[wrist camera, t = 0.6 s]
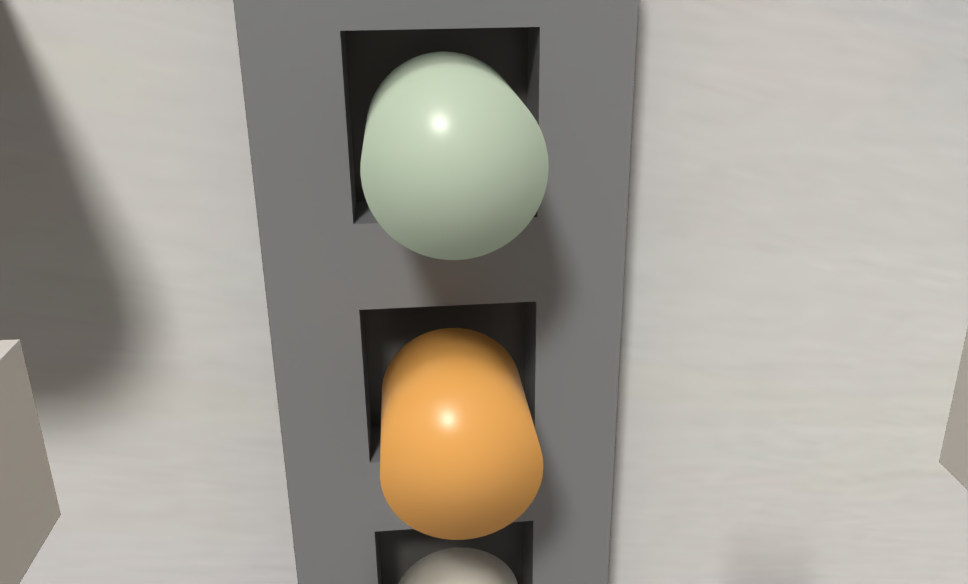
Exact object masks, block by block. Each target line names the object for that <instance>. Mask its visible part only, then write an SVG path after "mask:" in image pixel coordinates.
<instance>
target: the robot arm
mask: <svg viewBox="0 0 968 584" xmlns="http://www.w3.org/2000/svg"><path fill="white" fill-rule="evenodd" d="M939 463H940V464H941V465H943V466H944V467H945V468H946V469H947V470H948V471H949V472H950V473H951V474H952V475H953V476H954V477H955V478H956V479H957V480H958V481H959V482H960V483H961V484H962V485H963V486H964V487H965V488H966V489H967V490H968V328H967V332H966V337H965V342H964V346H963V351H962V356H961V361H960V365H959V370H958V375H957V379H956V384H955V389H954V394H953V398H952V403H951V408H950V413H949V417H948V422H947V427H946V431H945V436H944V441H943V446H942V450H941V455H940V460H939ZM60 515H61V513H60V509H59V505H58V500H57V496H56V492H55V488H54V483H53V479H52V475H51V470H50V466H49V462H48V458H47V453H46V449H45V445H44V440H43V436H42V432H41V428H40V423H39V419H38V415H37V410H36V406H35V402H34V398H33V393H32V389H31V385H30V380H29V376H28V372H27V368H26V363H25V359H24V355H23V350H22V346H21V342H20V339H16V340H0V584H19V583H20V582H21V580H22V578H23V577H24V575H25V573H26V572H27V570H28V568H29V567H30V565H31V563H32V562H33V560H34V558H35V557H36V555H37V553H38V552H39V550H40V548H41V547H42V545H43V543H44V542H45V540H46V538H47V537H48V535H49V533H50V532H51V530H52V528H53V527H54V525H55V523H56V522H57V520H58V518H59V517H60Z"/></svg>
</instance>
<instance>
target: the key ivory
mask: <svg viewBox="0 0 968 584" xmlns="http://www.w3.org/2000/svg"><path fill="white" fill-rule="evenodd" d="M398 584H518V583H517V580H516V577H515V575H514V574H513V572H512V570H511V569H510V568H509V567H508V566H507V564H505V563H504V562H503V561H502V560H501V559H499V558H498V557H496V556H494V555H492V554H490V553H488V552H485V551H482V550H478V549H473V548H449V549H444V550H440V551H437V552H434V553H431V554H429V555H427V556H425V557H423V558H422V559H420V560H418V561H417V562H416V563H414V564H413V565H412V566H411V567H410V568H409V569H408V570H407V571H406V572H405V574H404V575H403V576H402V578H401V580H400V581H399V583H398Z"/></svg>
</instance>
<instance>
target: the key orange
mask: <svg viewBox="0 0 968 584" xmlns="http://www.w3.org/2000/svg"><path fill="white" fill-rule="evenodd" d="M542 476H543V456H542V452H541V448H540V444H539V441H538V437H537V434H536V431H535V427H534V424H533V420H532V417H531V414H530V410H529V407H528V403H527V400H526V396H525V393H524V390H523V386H522V383H521V379H520V376H519V373H518V370H517V367H516V364H515V362H514V361H513V359H512V357H511V356H510V354H509V353H508V352H507V351H506V349H505V348H504V347H502V346H501V345H500V344H499V343H498V342H497V341H495V340H494V339H492V338H490V337H489V336H487V335H485V334H482V333H480V332H477V331H473V330H470V329H463V328H444V329H438V330H434V331H430V332H427V333H425V334H422V335H420V336H418V337H416V338H414V339H413V340H411V341H410V342H408V343H407V344H406V345H405V346H403V347H402V348H401V349H400V350H399V351H398V352H397V353H396V355H395V356H394V357H393V359H392V360H391V362H390V363H389V365H388V367H387V369H386V372H385V375H384V378H383V383H382V405H381V448H380V482H381V488H382V491H383V494H384V497H385V499H386V501H387V503H388V505H389V506H390V508H391V509H392V510H393V512H394V513H395V514H396V515H397V516H398V517H399V518H400V519H401V520H402V521H403V522H405V523H406V524H407V525H409V526H410V527H412V528H413V529H415V530H417V531H419V532H421V533H423V534H426V535H429V536H432V537H436V538H441V539H449V540H466V539H474V538H478V537H482V536H486V535H489V534H491V533H494V532H496V531H498V530H500V529H503V528H504V527H506V526H507V525H509V524H511V523H512V522H513V521H515V520H516V519H517V518H518V517H520V516H521V515H522V514H523V513H524V512H525V511H526V509H527V508H528V507H529V506H530V504H531V503H532V501H533V500H534V498H535V496H536V494H537V492H538V490H539V487H540V485H541V481H542Z"/></svg>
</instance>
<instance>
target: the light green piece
mask: <svg viewBox="0 0 968 584" xmlns="http://www.w3.org/2000/svg"><path fill="white" fill-rule="evenodd" d="M548 171H549V164H548V153H547V147H546V143H545V140H544V137H543V134H542V131H541V129H540V127H539V125H538V123H537V121H536V120H535V118H534V117H533V115H532V114H531V112H530V111H529V110H528V108H527V107H526V106H525V105H524V103H523V102H522V101H521V100H520V98H519V97H518V96H517V95H516V94H515V92H514V91H513V90H512V89H511V87H510V86H509V85H508V84H507V82H506V81H505V80H504V79H503V78H502V77H501V76H500V74H499V73H497V72H496V71H495V70H494V69H493V68H492V67H490V66H489V65H487V64H486V63H484V62H483V61H481V60H478V59H476V58H474V57H472V56H469V55H466V54H462V53H456V52H445V51H441V52H431V53H427V54H422V55H419V56H417V57H414V58H412V59H410V60H408V61H406V62H404V63H402V64H401V65H400V66H398V67H397V68H395V69H394V70H393V71H392V72H391V73H390V74H389V75H388V76H387V77H386V78H385V79H384V80H383V82H382V83H381V84H380V85H379V87H378V89H377V90H376V92H375V94H374V96H373V98H372V101H371V103H370V106H369V110H368V114H367V120H366V127H365V134H364V141H363V148H362V155H361V167H360V175H361V182H362V188H363V192H364V196H365V199H366V201H367V204H368V206H369V208H370V210H371V212H372V214H373V215H374V217H375V219H376V220H377V222H378V223H379V224H380V225H381V227H382V228H383V229H384V230H385V231H386V232H387V233H388V234H389V235H390V236H391V237H392V238H393V239H395V240H396V241H397V242H398V243H400V244H401V245H403V246H405V247H406V248H408V249H410V250H412V251H414V252H416V253H419V254H421V255H424V256H428V257H431V258H436V259H443V260H463V259H471V258H475V257H480V256H483V255H485V254H488V253H491V252H493V251H495V250H497V249H499V248H501V247H503V246H504V245H506V244H507V243H509V242H510V241H512V240H513V239H514V238H515V237H516V236H518V235H519V234H520V233H521V232H522V231H523V230H524V229H525V227H526V226H527V225H528V224H529V223H530V221H531V220H532V218H533V217H534V215H535V214H536V212H537V210H538V208H539V206H540V204H541V202H542V199H543V196H544V194H545V190H546V186H547V181H548Z"/></svg>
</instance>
